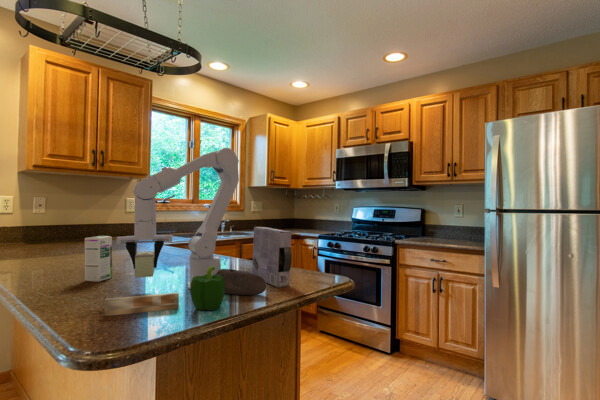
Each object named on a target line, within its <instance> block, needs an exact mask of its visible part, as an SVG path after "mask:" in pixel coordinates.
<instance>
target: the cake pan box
mask: <svg viewBox="0 0 600 400" xmlns="http://www.w3.org/2000/svg"><path fill="white" fill-rule="evenodd" d="M252 246H253V247H252V265H251V269H252V270H251V273H254V274H257V275H259V276H261V277H262V278H263V279H264V280H265V283H266V284H268V285H269V284H270V285H271V286H274V287H275V288H279V289H280V288H284V287H289V286H290V275H291V274H290V273H291V272H290V271H291V267H292V262H293V260H292V259H293V256H292V255H293V254H292V232H291V231H290V230H282V229H278V228H272V227H266V226H254V227H253V242H252Z"/></svg>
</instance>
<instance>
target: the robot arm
mask: <svg viewBox="0 0 600 400" xmlns="http://www.w3.org/2000/svg"><path fill="white" fill-rule="evenodd" d="M239 161H240V160H239V159H238V156H237V154H236V152H235V151H234V150H233V149H231V148H229V147H223V148H221V149H219V150H215V151H211V152H209V153H205V154H202V155H201V156H198V157H196V158H194V159H192V160H191V161H189V162H187V163H185V164H183V165H181V166H179V167H178V168H177V167H172V166H168V167H167V166H164V167H162V168H161V170H160V171H158V172H156V173H154V174H152V175H151V174H148V175H146V178H142V179H141V180H140V181H138V182H136V183H135V184H134V187H133V189H132V191H133V195H134V196H135V197H134V205H133V207H134V209H133V210H134V211H133V213H134V215H133V216H134V235H126V236H117V237H116V244H117V245H125V248H126V250H127V252H128V254H129V257H130V259H131V263H132V266H133V268H132V269H133V270H135V255H136V254H137V252H138V251H137V250H138V248H137V247H138V244H146V243H151V244H152V243H154V244H153V245H154V246H153V249H154V250H153V251H154V269H155V268H157V266H158V259H159V256H160V253H161V252H162V249H163V247H164V244H165V243H173V234H157V205H156V196H157V195H158V193H159V194H162V193H164V192H165V191H168V190H169V189H172V188H174V187H175V186H178V185H179V184H180V183H181V180H182V178H183V177H186V176H188V175H190V174H193V173H194V172H197V171H198V170H200V169H203V168H208V169H210V168H212V169H213V170H214V171H215V172H216V173H217V175H218V177H219V179H220V181H221V182H220V183H219V186H218V187H217V190H216V192H215V194H214V197H213V200H212V202H211V204H210V206H209V208H208V211H207V213H206V215H205V217H204V219H203V222H202V224H201V225H200V226H199V227H198V229H197V230H196V232H195V234H194V235H193V236H191V237H190V239H189V241H188V243H187V244H188V249H189V250H190V252H191V254H190V255H189V281H187V287H188V288H187V289H188V290H191V281H192V279H193V277H195V276H203V275H205V274H207V271H208V269H209V268H210V267H211V266H213V267H215V269H214V270H212V271H211V275H212V276H213V275H215V274H216V273H217V272H218V271H219V270H220V269H222V268H221V257H220V256H214V253H215V252H216V247H217V246H216V242H217V239H218V229H219V227H220V226H221V223H222V221H223V218H224V216H225V213H226V212H227V209H228V207H229V205H230V202H231V200H232V198H233V196H234V193H235V191H236V188H237V186H238V184H239V182H240V181H239V180H240V177H239Z"/></svg>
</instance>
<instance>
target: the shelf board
mask: <svg viewBox="0 0 600 400" xmlns="http://www.w3.org/2000/svg"><path fill="white" fill-rule="evenodd" d="M179 296H180V295H179V292H168V293H158V294H155V293H154V294H147V295H144V294H143V295H134V296H133V295H132V296H120V297H111V298H105V299H104V317H108V316H110V317H111V316H118V315H120V316H121V315H128V314H139V313H140V314H141V313H149V312H160V311H169V310H178V309H180V308H179V306H180V305H179V302H180V301H179V300H180V299H179Z"/></svg>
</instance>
